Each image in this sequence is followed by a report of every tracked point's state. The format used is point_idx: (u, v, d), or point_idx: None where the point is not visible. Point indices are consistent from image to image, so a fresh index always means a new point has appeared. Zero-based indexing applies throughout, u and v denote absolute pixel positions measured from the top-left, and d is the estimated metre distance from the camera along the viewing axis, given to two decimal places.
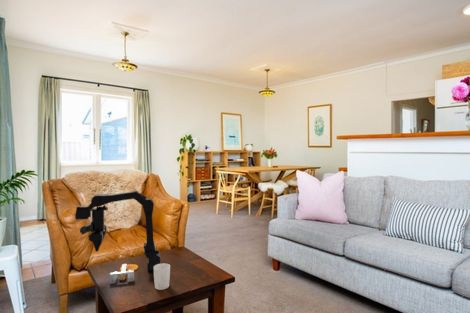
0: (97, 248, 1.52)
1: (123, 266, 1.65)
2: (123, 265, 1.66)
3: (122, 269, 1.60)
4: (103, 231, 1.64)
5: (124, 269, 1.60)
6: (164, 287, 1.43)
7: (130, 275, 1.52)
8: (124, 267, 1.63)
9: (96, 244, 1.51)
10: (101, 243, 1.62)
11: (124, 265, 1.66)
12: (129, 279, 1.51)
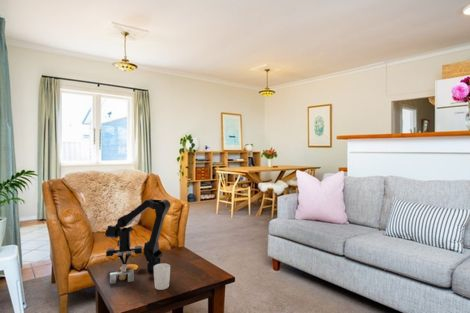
0: None
1: (123, 266, 1.64)
2: (123, 265, 1.66)
3: (122, 269, 1.60)
4: (129, 254, 1.68)
5: (124, 269, 1.60)
6: (164, 287, 1.43)
7: (130, 275, 1.52)
8: (124, 267, 1.63)
9: None
10: None
11: (124, 265, 1.66)
12: (129, 279, 1.51)
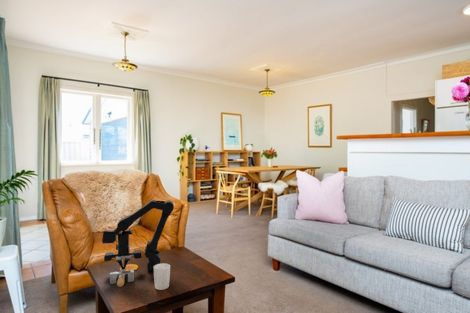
0: None
1: (122, 271, 1.57)
2: (122, 270, 1.59)
3: (120, 275, 1.53)
4: (128, 259, 1.61)
5: (122, 275, 1.53)
6: (164, 287, 1.43)
7: (130, 275, 1.52)
8: None
9: None
10: None
11: (123, 270, 1.59)
12: (129, 279, 1.51)
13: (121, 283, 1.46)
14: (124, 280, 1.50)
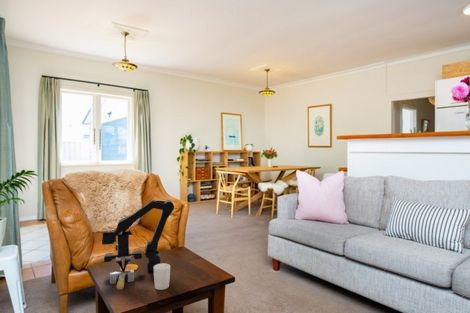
0: None
1: None
2: None
3: (120, 277, 1.50)
4: (128, 259, 1.60)
5: (122, 277, 1.50)
6: (164, 287, 1.43)
7: (130, 275, 1.52)
8: (122, 275, 1.53)
9: None
10: (124, 270, 1.60)
11: None
12: (129, 279, 1.51)
13: (121, 286, 1.43)
14: None
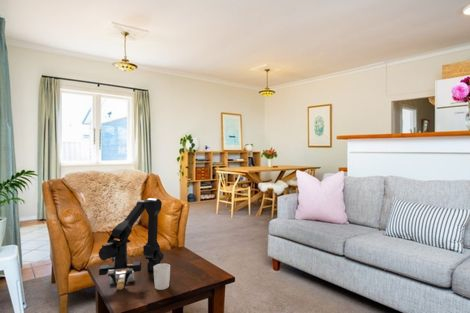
0: None
1: None
2: None
3: (120, 277, 1.50)
4: (129, 271, 1.44)
5: (122, 277, 1.50)
6: (164, 287, 1.43)
7: (130, 275, 1.52)
8: (122, 275, 1.53)
9: None
10: (125, 284, 1.44)
11: None
12: (129, 279, 1.51)
13: (121, 286, 1.43)
14: None
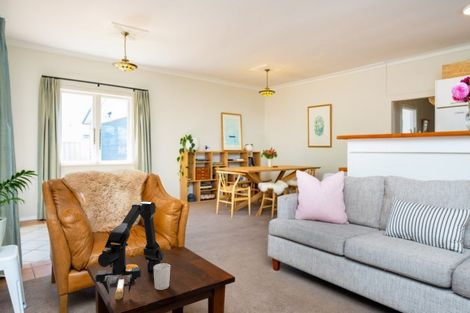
0: None
1: (120, 282, 1.45)
2: (120, 281, 1.47)
3: (119, 286, 1.41)
4: None
5: (121, 286, 1.41)
6: (164, 287, 1.43)
7: None
8: (121, 283, 1.44)
9: None
10: (129, 290, 1.35)
11: (121, 281, 1.47)
12: (129, 279, 1.51)
13: (119, 295, 1.34)
14: None
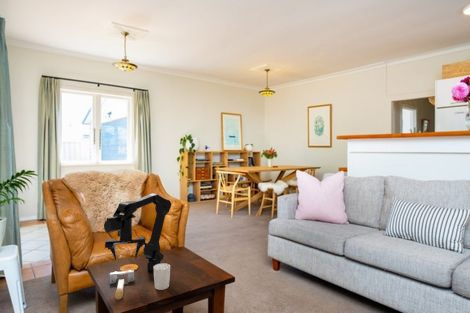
0: None
1: (120, 282, 1.45)
2: (120, 281, 1.47)
3: (119, 286, 1.41)
4: None
5: (121, 286, 1.41)
6: (164, 287, 1.43)
7: (130, 275, 1.52)
8: (121, 283, 1.44)
9: None
10: (136, 256, 1.50)
11: (121, 281, 1.47)
12: (129, 279, 1.51)
13: (120, 295, 1.34)
14: None
